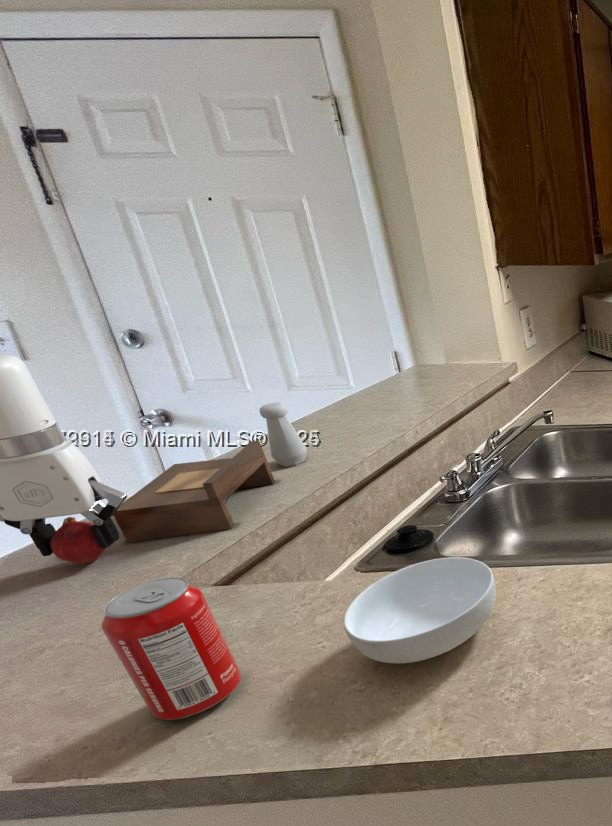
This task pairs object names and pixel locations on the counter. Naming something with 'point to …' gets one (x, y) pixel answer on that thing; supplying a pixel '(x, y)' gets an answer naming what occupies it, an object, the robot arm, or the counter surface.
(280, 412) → the salt shaker
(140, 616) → the soda can
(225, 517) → the wooden display stand
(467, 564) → the cereal bowl
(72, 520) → the pomegranate
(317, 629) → the counter surface
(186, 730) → the counter surface
